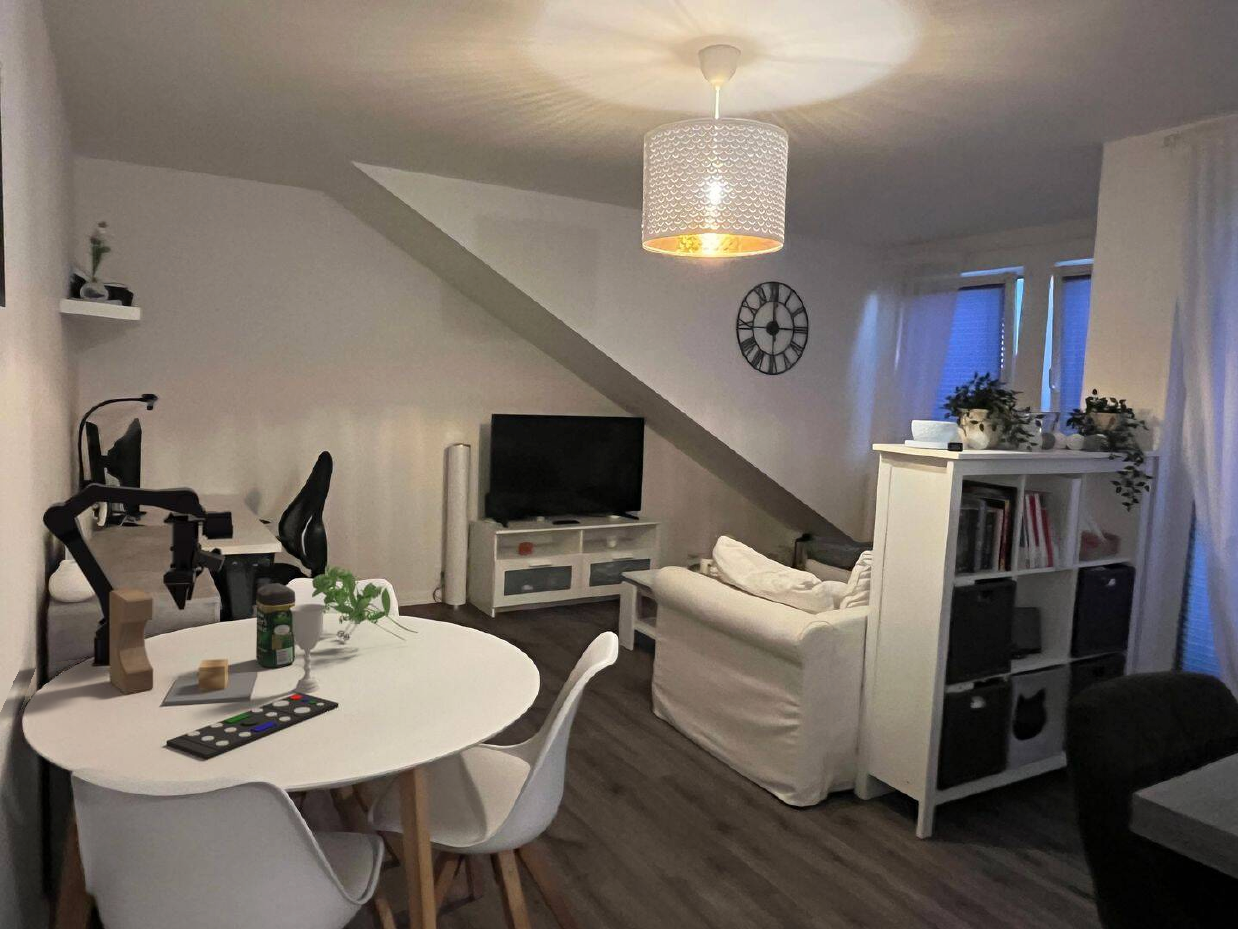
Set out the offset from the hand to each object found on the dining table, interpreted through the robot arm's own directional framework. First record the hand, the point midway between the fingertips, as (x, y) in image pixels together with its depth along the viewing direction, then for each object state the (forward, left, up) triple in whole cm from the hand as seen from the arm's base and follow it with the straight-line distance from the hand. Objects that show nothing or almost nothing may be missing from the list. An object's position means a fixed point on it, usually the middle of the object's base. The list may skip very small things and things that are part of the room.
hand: (185, 605), depth 203 cm
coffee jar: (+21, -10, -12) cm, 26 cm away
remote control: (+21, -49, -13) cm, 55 cm away
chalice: (+29, -30, -12) cm, 43 cm away
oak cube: (+10, -27, -11) cm, 31 cm away
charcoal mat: (+10, -27, -12) cm, 31 cm away
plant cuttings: (+41, +7, -12) cm, 43 cm away
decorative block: (-7, -21, -12) cm, 25 cm away
